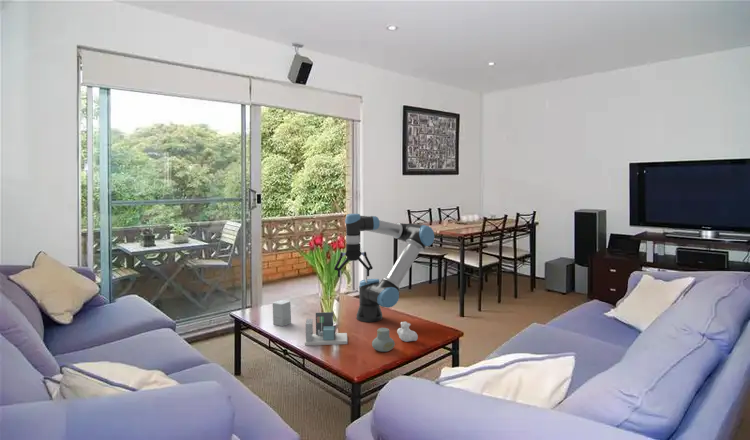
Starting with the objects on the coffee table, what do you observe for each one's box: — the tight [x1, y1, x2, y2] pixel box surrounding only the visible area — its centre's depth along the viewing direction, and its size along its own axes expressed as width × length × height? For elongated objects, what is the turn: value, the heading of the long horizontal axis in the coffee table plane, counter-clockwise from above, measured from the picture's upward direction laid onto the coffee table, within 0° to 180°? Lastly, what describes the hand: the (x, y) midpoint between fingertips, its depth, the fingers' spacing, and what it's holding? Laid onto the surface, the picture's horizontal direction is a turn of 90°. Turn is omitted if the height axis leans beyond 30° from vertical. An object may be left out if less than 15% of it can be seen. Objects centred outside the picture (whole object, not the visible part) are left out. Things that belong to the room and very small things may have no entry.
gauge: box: [318, 316, 336, 340], centre depth 232 cm, size 9×8×10 cm
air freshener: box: [371, 327, 396, 353], centre depth 220 cm, size 11×8×10 cm
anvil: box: [305, 318, 314, 342], centre depth 231 cm, size 3×8×9 cm, turn 5°
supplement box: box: [272, 299, 292, 327], centre depth 259 cm, size 7×7×13 cm
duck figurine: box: [396, 321, 419, 343], centre depth 232 cm, size 12×8×11 cm
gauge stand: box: [304, 311, 348, 347], centre depth 232 cm, size 21×12×13 cm, turn 95°
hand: (353, 282), depth 243 cm, fingers open, 13 cm apart
